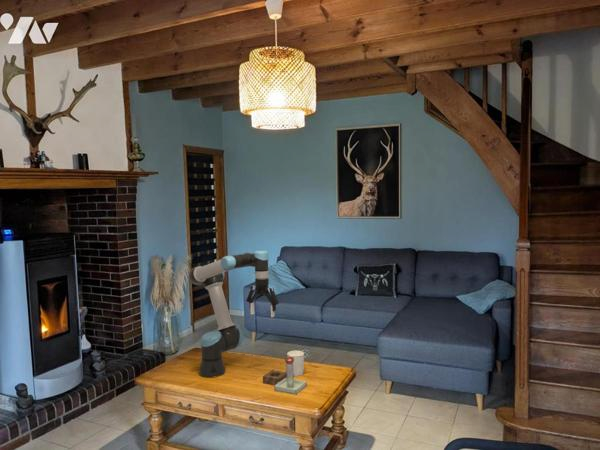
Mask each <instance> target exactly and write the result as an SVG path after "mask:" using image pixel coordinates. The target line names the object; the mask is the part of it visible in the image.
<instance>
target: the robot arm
mask: <svg viewBox="0 0 600 450" xmlns="http://www.w3.org/2000/svg"><path fill="white" fill-rule="evenodd" d="M247 267H253V268H254V273H255V274H254V278H255V279H254V280H255V281H254V283H255V285H251V286H250V290H249V292H248V295H247V298H246V300H245V301H246V302H247V303H248V304H249V306H248V307H249V309H250V315H255V302H254V301H255V300H256V299H257V297H259V295H261V296H264V297H266V298H267V300H268V301H269V303H270V317H271V318H274V317H275V315H276V312H275V311H276V310H277V305H279V304H280V303H279V300H278V297H277V295H276V293H275V290H274V289H275V288H274V286H273V287H269V285H270V283H269V280H270V279H269V252H268V251H267V250H264V249H263V250H255V251H254V253H252V252H251V253H250V252H242V253H240V254H231V255H226V256H223V257H222V258H221V259H218V260H215V261H214V262H211V263H209V264H205V265H199V266H195V267H192V268H191V269H190V271H189V272H188V279H189V282H190V283H191V284H193V285H195V286H204V289H205V290H207V292H208V294H209V299H210V301H211V302H210V303H211V305H212V309H213V312H214V316H215V318H216V324H217V325H218V327H217V330H213V331H207V332H205V333H203V334H202V336H201V339H200V347H201V364H200V368H199V370H198V371H199V373H200V374H199V376H200V375H202V376H201V377H203V376H207V377H206V378H214V377H213V376H217V377H219V376H218V375H220V376H223V375H224V374H225V373H226V366H225V363H224V361H223V354H222V353H225V352H228V351H231V350H235V349H237V348H238V347H240V346H241V345H242V343H243V338H244V337H243V332H242V330H241V328H238V327H237V326H236V324H235V323H234V322H233V320H232V318H231V314H230V311H229V307H228V304H227V300H226V297H225V294H224V289H223V287H222V286H223V284H224V279H225V273H226V272H228V271H229V272H230V271H231V270H235V269H239V268H241V269H242V268H247ZM222 374H223V375H222Z"/></svg>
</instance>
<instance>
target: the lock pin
mask: <svg viewBox="0 0 600 450" xmlns="http://www.w3.org/2000/svg"><path fill="white" fill-rule="evenodd" d="M284 362H285V369H286V370H285V372H286V380H287V388H294V380H295V376H294V365H293V362H294V358H293V357H288V356H287V357H285V359H284Z"/></svg>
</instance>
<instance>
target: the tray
mask: <svg viewBox="0 0 600 450" xmlns="http://www.w3.org/2000/svg"><path fill="white" fill-rule="evenodd" d="M306 387H307V381H304V380H299V379H294V388H287V380H286V378H285V379H283V380H282V381H280V382H279V383H278V384H276V385H273V388H274V389H273V390H274V391H275V392H279V393H285V394H288V395H289V394H290V395H293V396H296V395H298V394H299V393H300V392H301V391H302V390H304V389H305V388H306Z"/></svg>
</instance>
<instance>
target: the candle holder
mask: <svg viewBox="0 0 600 450" xmlns="http://www.w3.org/2000/svg"><path fill="white" fill-rule="evenodd" d="M286 355H287V357H293V358H294V362H293V365H294V377H300V376H302V375H304V366H305V365H304V363H305V352H304V351H302V350H290V351H288V352H287V354H286Z"/></svg>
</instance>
